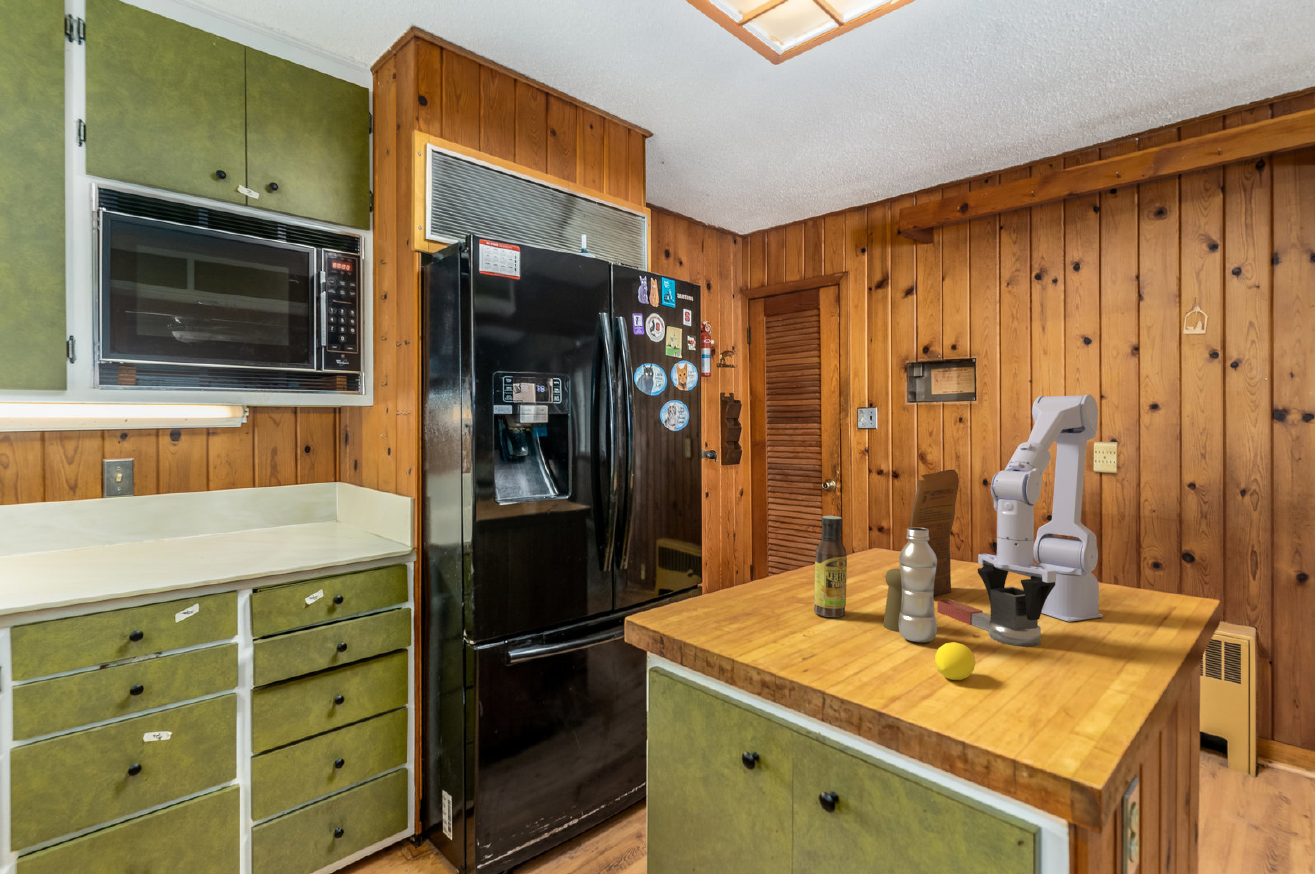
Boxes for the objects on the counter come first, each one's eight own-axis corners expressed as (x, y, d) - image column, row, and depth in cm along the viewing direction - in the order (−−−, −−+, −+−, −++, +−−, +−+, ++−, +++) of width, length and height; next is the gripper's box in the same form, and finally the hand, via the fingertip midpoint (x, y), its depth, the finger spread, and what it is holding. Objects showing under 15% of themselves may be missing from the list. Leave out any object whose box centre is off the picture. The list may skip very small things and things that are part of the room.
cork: (920, 633, 115) (920, 574, 114) (885, 631, 116) (885, 572, 116) (913, 622, 121) (913, 566, 120) (880, 620, 122) (880, 565, 122)
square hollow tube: (1012, 618, 115) (1012, 586, 115) (1037, 627, 110) (1037, 593, 110) (990, 621, 113) (990, 589, 113) (1015, 630, 108) (1015, 596, 108)
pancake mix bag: (969, 590, 143) (969, 469, 142) (920, 604, 132) (920, 473, 132) (941, 584, 149) (942, 467, 148) (892, 597, 138) (893, 471, 137)
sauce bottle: (827, 620, 122) (827, 520, 122) (807, 611, 128) (807, 515, 127) (853, 616, 125) (853, 518, 124) (833, 608, 130) (833, 513, 130)
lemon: (962, 692, 91) (960, 657, 90) (927, 680, 95) (925, 647, 95) (985, 674, 95) (982, 640, 95) (950, 663, 99) (948, 631, 99)
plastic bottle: (935, 635, 113) (935, 526, 113) (939, 648, 107) (939, 533, 106) (897, 632, 115) (897, 525, 115) (898, 644, 109) (899, 531, 108)
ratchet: (958, 609, 129) (958, 582, 129) (1051, 643, 109) (1051, 612, 109) (927, 613, 126) (927, 586, 126) (1016, 648, 107) (1016, 616, 106)
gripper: (965, 532, 117) (965, 603, 117) (1034, 546, 103) (1033, 627, 103) (994, 529, 119) (994, 600, 119) (1065, 543, 105) (1065, 623, 106)
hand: (1014, 612), depth 111 cm, fingers open, 7 cm apart
